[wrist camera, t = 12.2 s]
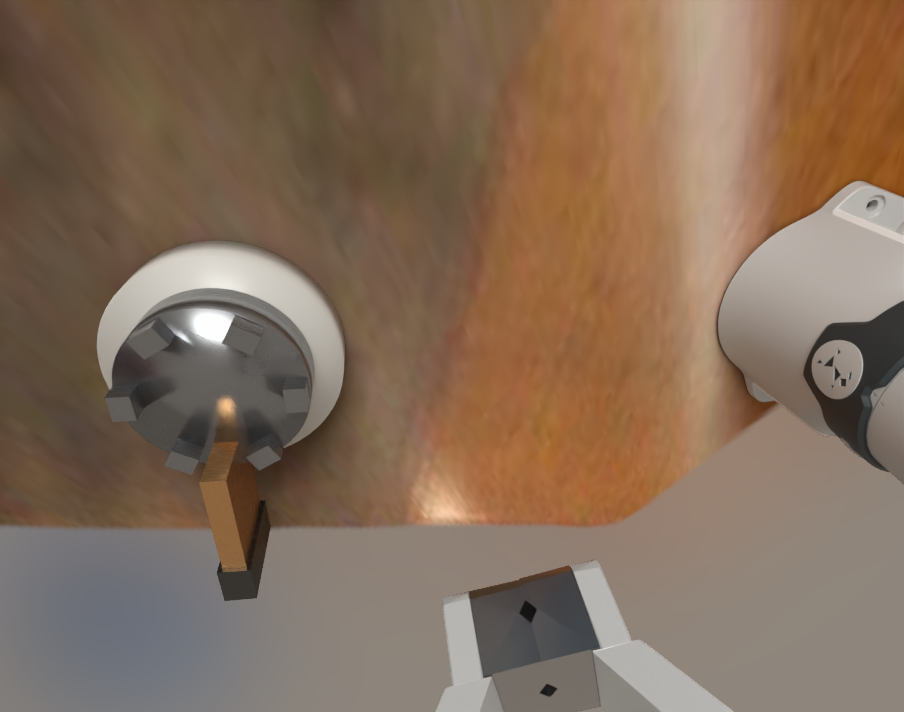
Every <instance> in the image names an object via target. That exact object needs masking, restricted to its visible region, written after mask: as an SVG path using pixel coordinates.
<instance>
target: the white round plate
mask: <svg viewBox="0 0 904 712" xmlns="http://www.w3.org/2000/svg"><path fill="white" fill-rule="evenodd" d="M201 288H222V289H229V290H235V291H239V292H243V293H247V294H249V295H252V296H254V297H257V298H260V299H261V300H263V301H265V302H267V303H269V304H271V305H273V306H274V307H276V308H277V309H279V310H280V311H281V312H283V313H284V314H285V315H286V316H287V317H288V318H290V319H291V320H292V322H293V323H294V324H295V325H296V326H297V327H298V328H299V330H300V331H301V333H302V334H303V335H304V337H305V339H306V341H307V343H308V345H309V347H310V350H311V352H312V355H313V361H314V369H315V376H314V384H313V390H312V397H311V404H310V409H309V413H308V416H307V419H306V421H305V423H304V425H303V427H302V428H301V430H300V431H299V433H298V434H297V435H296V436H295V437H294V438H293V439H292V440H291V441H290V442H289V443H288V444H287V445H286V446H284V448H285V447H288V446H290V445H292V444H294V443H296V442H298V441H300V440H301V439H303V438H304V437H306V436H307V435H309V434H310V433H311V432H313V431H314V430H315V429H316V428H317V427H319V426H320V424H321V423H322V422H323V421H324V420H325V419H326V418H327V417H328V415H329V414H330V412H331V410H332V409H333V407H334V406H335V403H336V401H337V399H338V397H339V394H340V391H341V387H342V383H343V374H344V362H345V337H344V332H343V326H342V324H341V321H340V318H339V315H338V313H337V311H336V309H335V307H334V305H333V303H332V301H331V300H330V298H329V297H328V295H327V294H326V293H325V291H324V290H323V289H322V288H321V287H320V285H319V284H318V283H317V282H316V281H315V280H314V279H313V278H312V277H311V276H309V275H308V274H307V273H306V272H305V271H304V270H303V269H301V268H300V267H298V266H297V265H295V264H294V263H292V262H291V261H289V260H287V259H285V258H283V257H282V256H280V255H278V254H276V253H273V252H271V251H268V250H266V249H263V248H260V247H257V246H253V245H249V244H245V243H240V242H232V241H215V240H210V241H200V242H193V243H188V244H184V245H180V246H177V247H174V248H172V249H169V250H166V251H164V252H162V253H160V254H159V255H157V256H155V257H153V258H151V259H150V260H149V261H148V262H146V263H145V264H144V265H142V266H141V267H140V268H139V269H138V270H137V271H136V272H135V273H134V274H133V276H132V277H131V278H130V279H129V280H128V281H127V282H126V283H125V284H124V285H123V286H122V288H121V289H120V290H119V291H118V292H117V293H116V294H115V295H114V296H113V298H112V299H111V301H110V303H109V304H108V306H107V307H106V309H105V311H104V314H103V316H102V318H101V321H100V325H99V330H98V334H97V353H98V361H99V365H100V368H101V372H102V375H103V377H104V379H105V381H106V384H107V386H108V388H109V389H111V388H112V367H113V363H114V360H115V356H116V354H117V352H118V350H119V348H120V346H121V345H122V344H123V342H124V341H125V339H126V338H127V337H128V335H129V334H130V333H131V331H132V330H133V329H134V327H135V326H136V325H137V323H138V322H139V321H140V320H141V318H142V317H143V316H144V314H145V313H146V312H147V311H149V310H150V309H151V308H152V307H153V306H154V305H156V304H157V303H159V302H160V301H162V300H164V299H166V298H168V297H170V296H172V295H174V294H177V293H180V292H183V291H188V290H193V289H201Z"/></svg>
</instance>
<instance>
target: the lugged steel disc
mask: <svg viewBox="0 0 904 712" xmlns="http://www.w3.org/2000/svg"><path fill="white" fill-rule="evenodd" d="M314 376H315V369H314V361H313V355H312V352H311V350H310V347H309V345H308V343H307V341H306V339H305V337H304V335H303V334H302V333H301V331H300V330H299V328H298V327H297V326H296V325H295V324H294V323H293V322H292V320H291V319H290V318H288V317H287V316H286V315H285V314H284V313H283V312H281V311H280V310H279V309H277V308H276V307H274V306H273V305H271V304H269V303H267V302H265V301H263V300H261V299H260V298H257V297H254V296H252V295H249V294H247V293H243V292H239V291H235V290H229V289H222V288H201V289H193V290H188V291H183V292H180V293H177V294H174V295H172V296H170V297H168V298H166V299H164V300H162V301H160V302H159V303H157V304H156V305H154V306H153V307H152V308H151V309H150V310H149V311H147V312H146V313H145V314H144V316H143V317H142V318H141V320H140V321H139V322H138V323H137V325H136V326H135V327H134V329H133V330H132V331H131V333H130V334H129V335H128V337H127V338H126V339H125V341H124V342H123V344H122V345H121V346H120V348H119V350H118V352H117V354H116V356H115V360H114V363H113V367H112V388H111V389H110V391H109V392H108V394H107V395H106V396H105V401H106V404H107V407H108V410H109V413H110V416H111V418H112V421H113V422H124V421H128V422H129V423H130V424H131V426H132V427H133V428H134V429H135V430H136V431H137V432H138V433H139V434H140V435H141V436H143V437H144V438H145V439H146V440H148V441H149V442H150V443H152V444H154V445H155V446H157V447H158V448H160V449H162V450H164V451H166V452H168V453H170V454H169V456H168V459H167V461H166V463H165V465H164V466H165V467H168V468H172V469H175V470H178V471H181V472H184V473H187V474H191V475H192V474H193V472H194V470H195V468H196V466H197V464H198V462H199V463H204V464H206V465H205V468H204V470H203V473H202V476H201V479H200V481H199V484H200V488H201V491H202V495H203V499H204V502H205V506H206V510H207V513H208V517H209V521H210V525H211V528H212V532H213V536H214V539H215V543H216V547H217V551H218V554H219V558H220V564H219V567H218V571H217V575H218V578H219V582H220V585H221V589H222V593H223V596H224V600H225V601H228V600H240V599H252V598H257V594H258V589H259V583H260V579H261V573H262V568H263V563H264V558H265V552H266V547H267V542H268V537H269V532H270V523H269V518H268V512H267V507H266V502H265V501H260V498H259V493H258V488H257V483H256V478H255V473H254V468H253V465H254V466H255V467H256V468H257V469H258V470H259V471H260V470H261V469H263V468H265V467H267V466H269V465H271V464H273V463H275V462H277V461H278V460H280V459H281V458H282V453H283V448H284V446H286V445H287V444H288V443H289V442H290V441H291V440H292V439H293V438H294V437H295V436H296V435H297V434H298V433H299V431H300V430H301V428H302V427H303V425H304V423H305V421H306V419H307V416H308V413H309V409H310V404H311V397H312V390H313V384H314Z"/></svg>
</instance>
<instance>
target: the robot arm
mask: <svg viewBox="0 0 904 712" xmlns="http://www.w3.org/2000/svg"><path fill="white" fill-rule="evenodd" d="M870 201H871V202H870ZM869 202H870V204H869V205H868V203H869ZM867 205H868V206H867ZM718 333H719V339H720V343H721V346H722V348H723V350H724V352H725V354H726V355H727V357H728V358H729V359H730V360H731V361H732V362H733V363H734V364H735V365H736V366H737V367H738V368H739V369H740V370H741V371H742V373H743V374H744V378H745V382H746V386H747V390H748V392H749V393H750V395H752V396H753V397H754V398H755V399H757V400H758V401H760V402H770V401H776V402H777V403H779V404H780V405H781V406H782V407H784V408H785V409H786V410H788V411H789V412H790V413H792V414H793V415H794V416H795V417H797V418H798V419H799V420H801V421H802V422H803V423H805V424H806V425H807V426H808V427H810V428H811V429H813V430H814V431H815V432H817V433H818V434H820V435H823V436H826V437H827V436H830V435H833V436H838V437H839V438H840V439H841V441H843V442H844V444H845V445H846V446H847V447H848V448H849V449H850V450H852V451H853V452H854V453H856V454H857V455H858V456H859V457H862V458H864V459H865V460H866V461H867V462H869V463H870V464H871V465H873V466H874V467H876V468H878V469H880V470H883V471H887V472H890V473H891V474H892V475H894V476H895V477H896V478H897V479H898V480H899V481H901V482H902V483H903V484H904V197H902V196H899V195H897V194H894V193H892V192H889V191H886V190H884V189H881V188H879V187H876V186H874V185H871V184H869V183H866V182H863V181H857V182H853V183H851V184H849V185H848V186H846V187H845V188H843V189H842V190H841V191H839V192H838V193H837V194H836V195H835V196H834V197H833V198H831V199H830V200H829V201H828V202H827V203H826V204H825V205H824V206H823V207H822V208H821V209H819V210H818V211H816V212H815V213H813V214H811V215H809V216H808V217H805V218H803V219H801V220H799V221H797V222H795V223H793V224H791V225H789V226H787V227H786V228H784V229H782V230H781V231H779V232H777V233H776V234H775V235H773V236H772V237H770V238H769V239H768V240H766V241H765V242H764V243H763V244H762V245H761V246H759V247H758V248H757V249H756V250H755V251H754V252H753V253H752V254H751V255H750V256H749V257H748V259H747V260H746V261H745V262H744V263H743V265H742V266H741V267H740V269H739V270H738V271H737V273H736V274H735V276H734V277H733V279H732V281H731V282H730V284H729V286H728V288H727V290H726V293H725V295H724V298H723V300H722V304H721V307H720V312H719V318H718ZM443 615H444V623H445V631H446V639H447V647H448V655H449V663H450V671H451V680H452V686H449V687H446V688H444V690H443V693H442V695H441V697H440V700H439V702H438V704H437V707H436V709H435V712H578V711H583V710H587V709H592V708H597V707H601V709H602V710H603V711H604V712H733V711H732V710H731V709H729V708H728V707H727V706H725V705H724V704H723V703H722V702H720V701H719V700H718V699H717V698H715V697H714V696H713V695H711V694H710V693H709V692H708V691H706V690H705V689H704V688H702V687H701V686H700V685H699V684H697V683H696V682H695V681H693V680H692V679H691V678H690V677H688V676H687V675H686V674H684V673H683V672H682V671H680V670H679V669H678V668H677V667H675V666H674V665H673V664H672V663H670V662H669V661H668V660H666V659H665V658H664V657H663V656H661V655H660V654H659V653H657V652H656V651H655V650H654V649H652V648H651V647H650V646H648V645H647V644H646V643H645V642H643V641H642V640H641V639H637V640H632V639H631V637H630V635H629V632H628V630H627V628H626V625H625V623H624V621H623V618H622V616H621V614H620V611H619V609H618V606H617V604H616V602H615V599H614V597H613V595H612V592H611V590H610V588H609V585H608V583H607V580H606V578H605V576H604V574H603V571H602V569H601V566H600V565H599V563H598V562H597V561H596V560H591V561H587V562H583V563H580V564H577V565H573V566H570V567H569V566H565V567H561V568H558V569H554V570H550V571H547V572H543V573H539V574H535V575H532V576H528V577H524V578H520V579H519V580H516V581H512V582H507V583H503V584H499V585H495V586H490V587H486V588H482V589H478V590H473V591H468V592H464V593H461V594H456V595H452V596H448V597H444V598H443Z"/></svg>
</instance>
